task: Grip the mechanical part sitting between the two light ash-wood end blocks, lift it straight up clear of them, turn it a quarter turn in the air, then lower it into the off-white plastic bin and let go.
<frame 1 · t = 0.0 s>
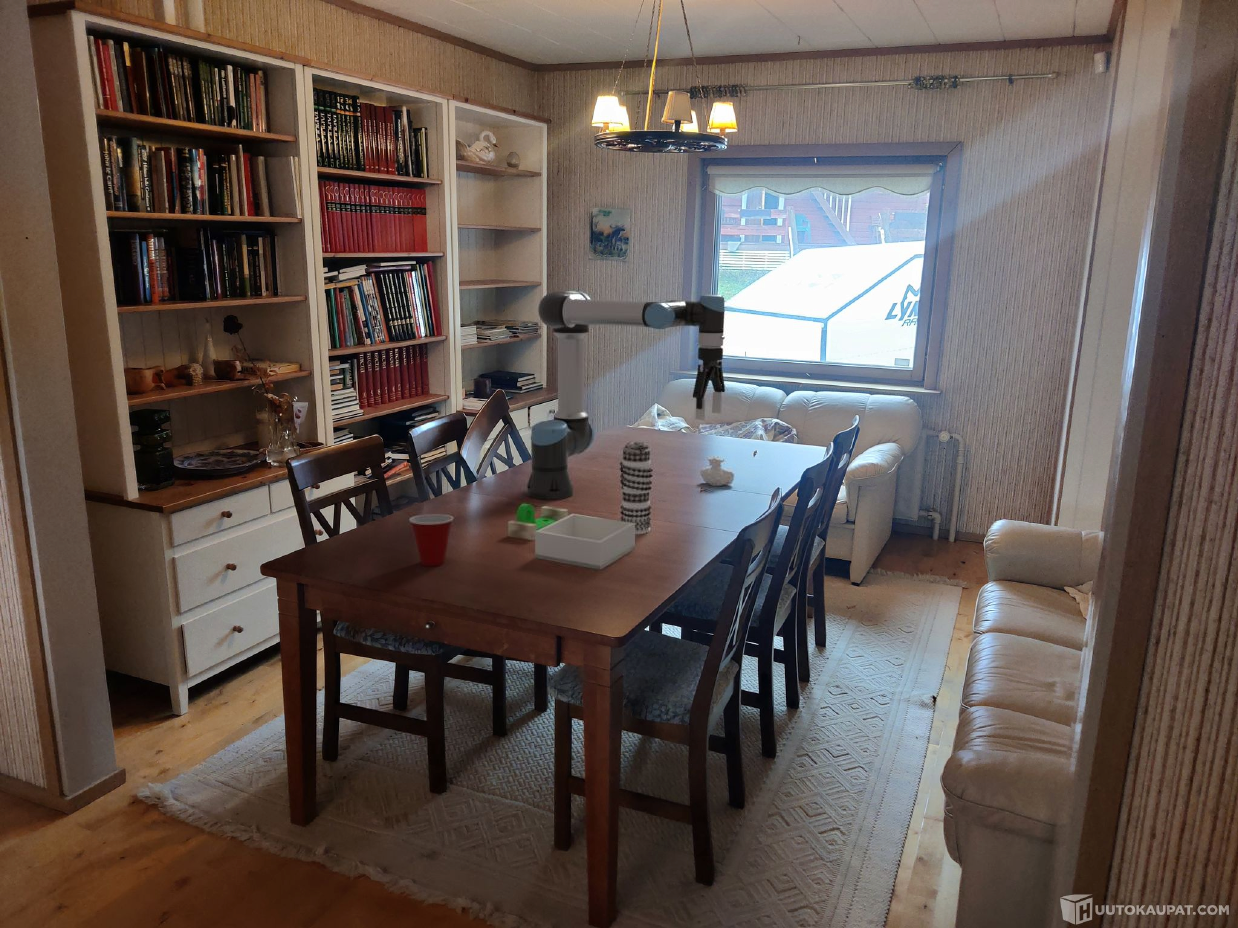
hand: (708, 416, 277), 28 cm above the table, tool pointing down, fingers open, 13 cm apart
cradle: (539, 529, 255), on the table
decorative candle: (635, 530, 256), on the table
mechanical part: (538, 530, 255), on the table
bin: (585, 553, 235), on the table
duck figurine: (716, 485, 307), on the table
plastic cup: (433, 563, 227), on the table
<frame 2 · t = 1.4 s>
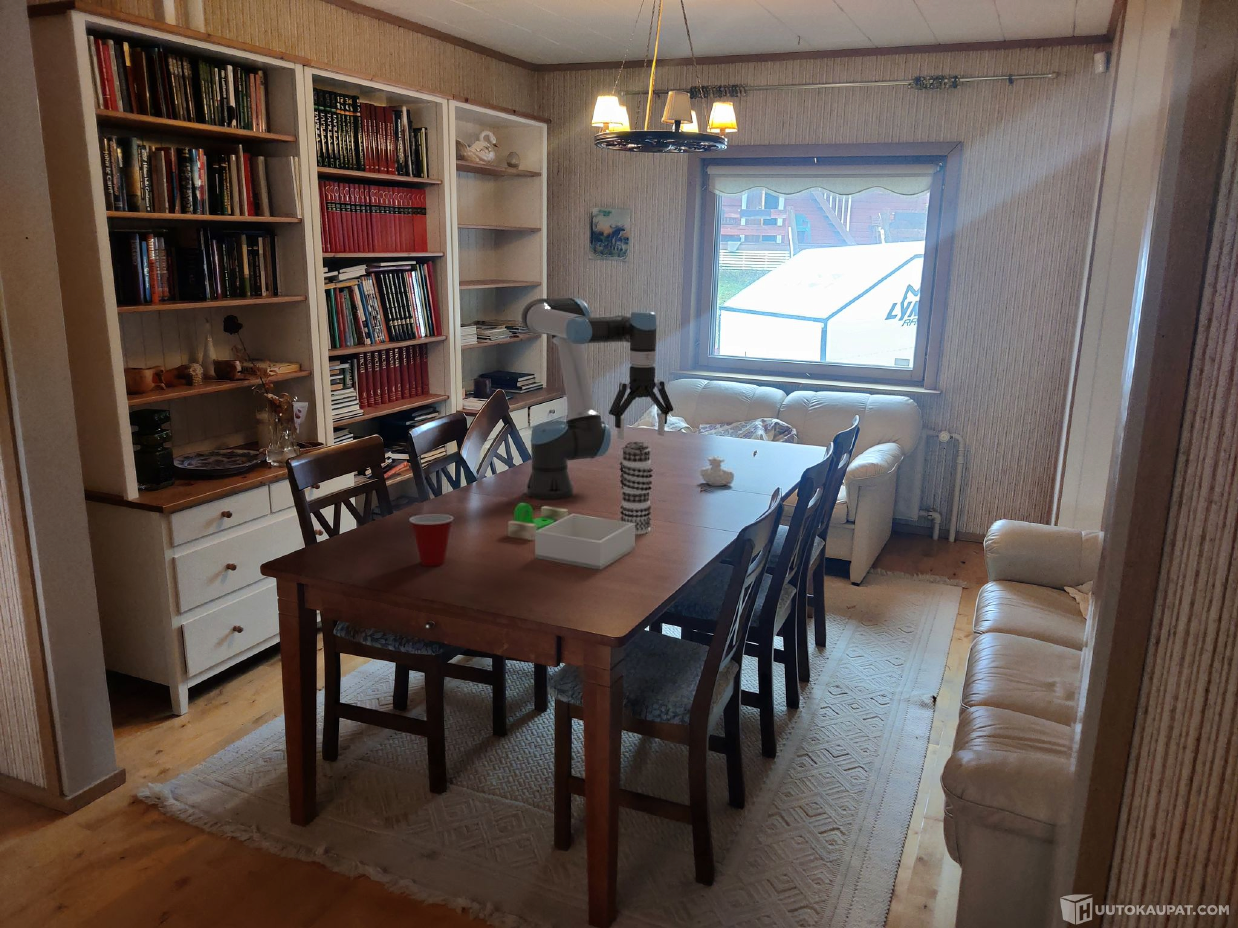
hand: (640, 437, 266), 24 cm above the table, tool pointing down, fingers open, 13 cm apart
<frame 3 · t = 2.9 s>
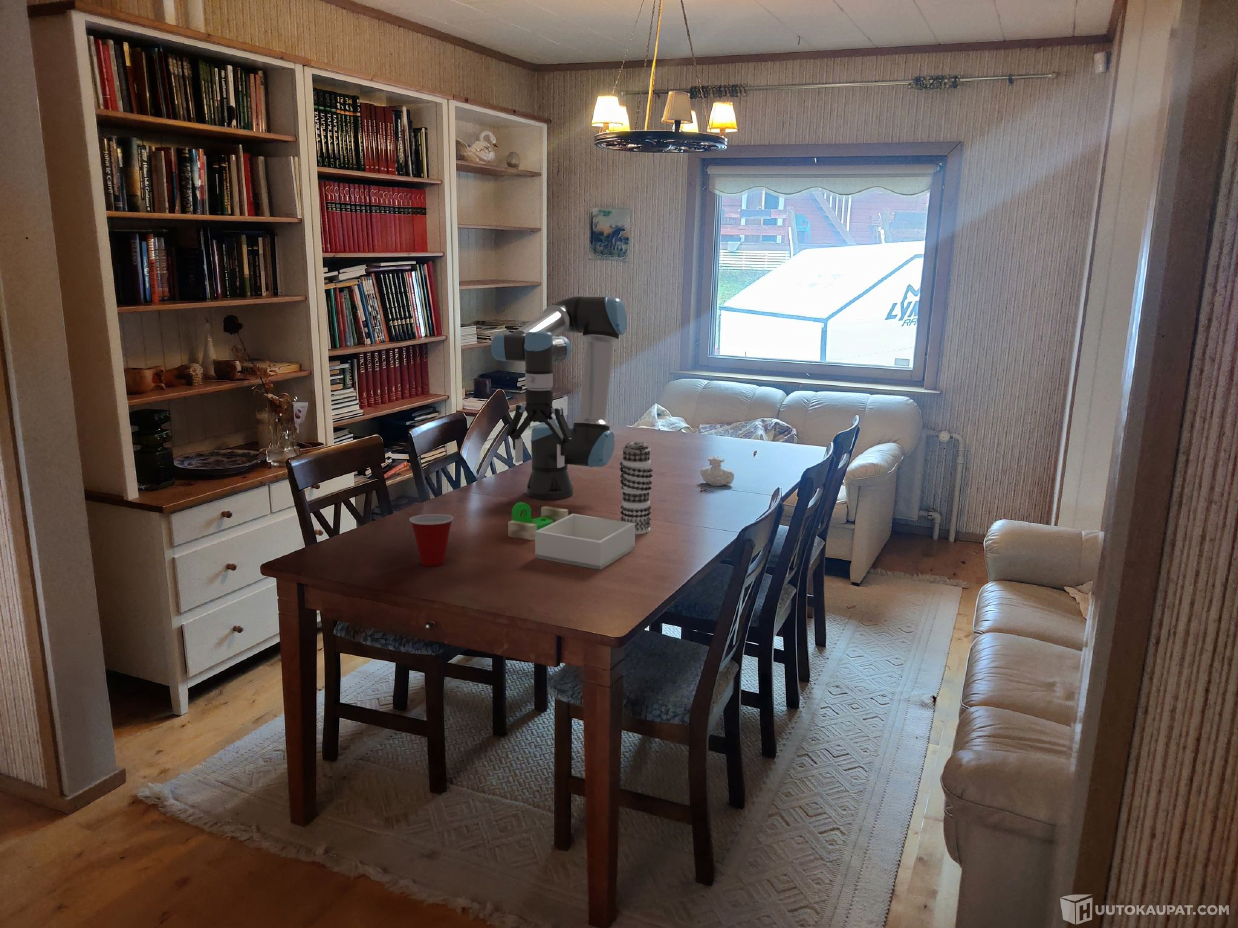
hand: (539, 464, 251), 19 cm above the table, tool pointing down, fingers open, 13 cm apart
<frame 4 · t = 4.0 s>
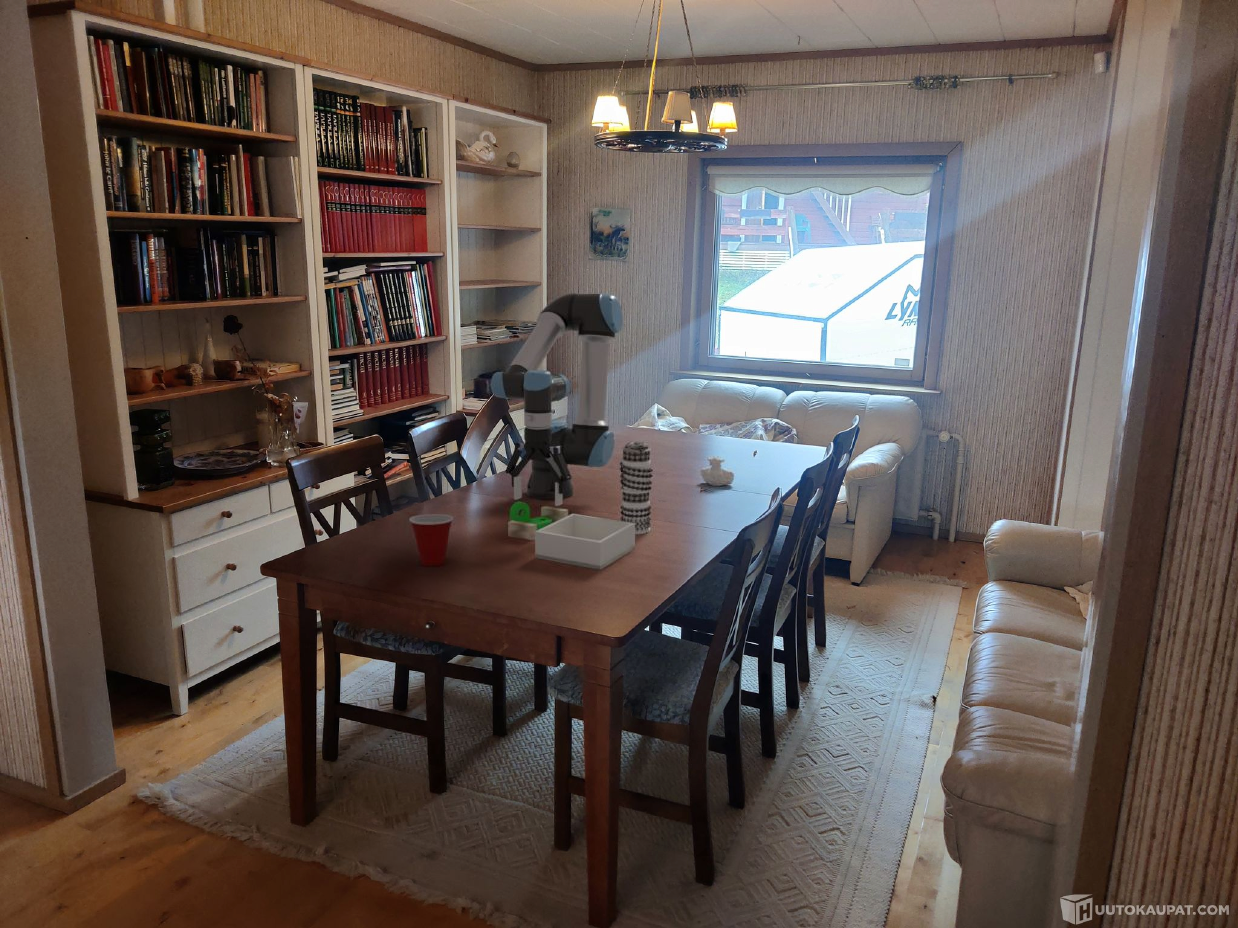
hand: (538, 501, 253), 8 cm above the table, tool pointing down, fingers open, 13 cm apart
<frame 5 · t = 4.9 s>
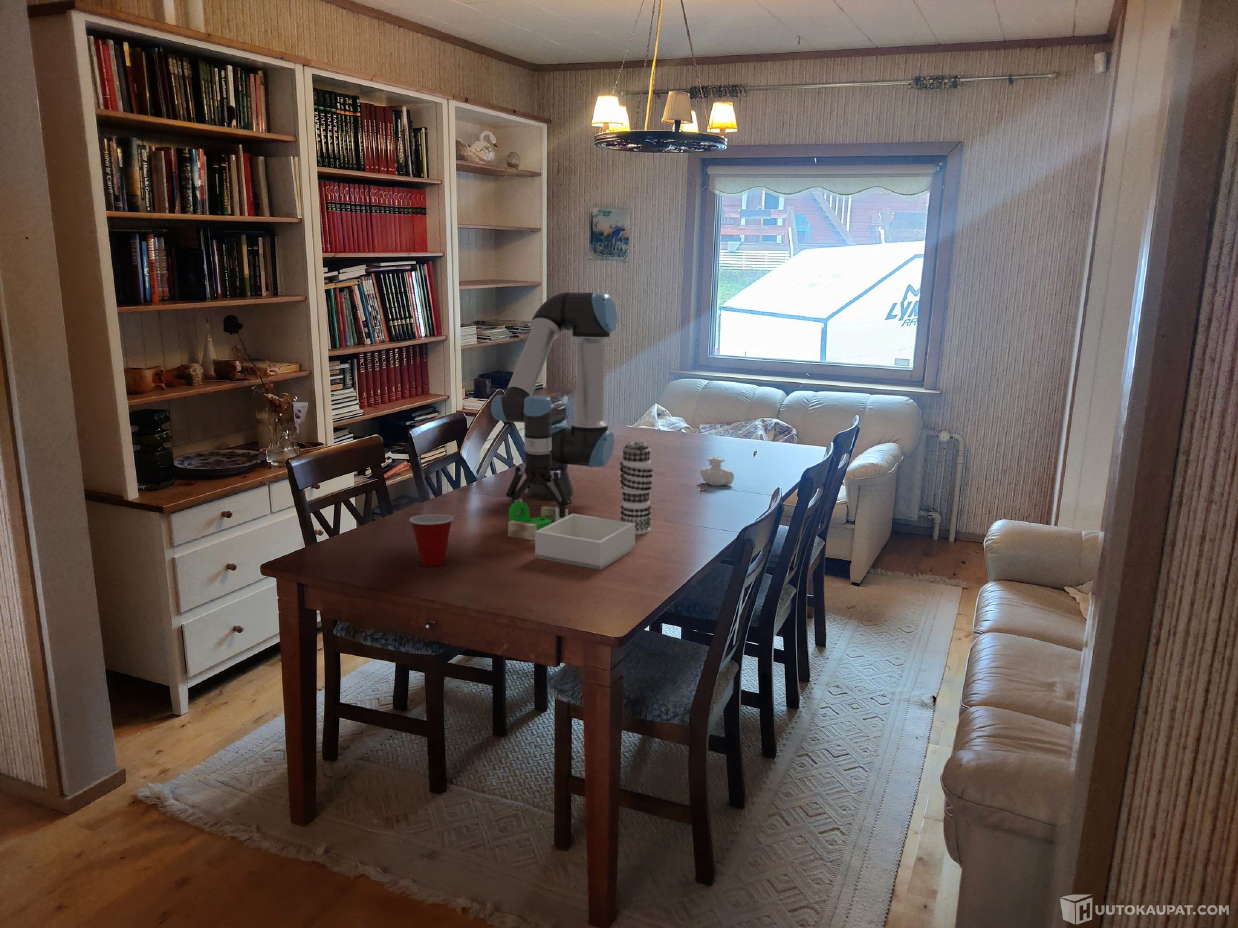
hand: (538, 525, 255), 1 cm above the table, tool pointing down, fingers open, 13 cm apart
mechanical part: (532, 529, 257), on the table, touching gripper
everything else where it was.
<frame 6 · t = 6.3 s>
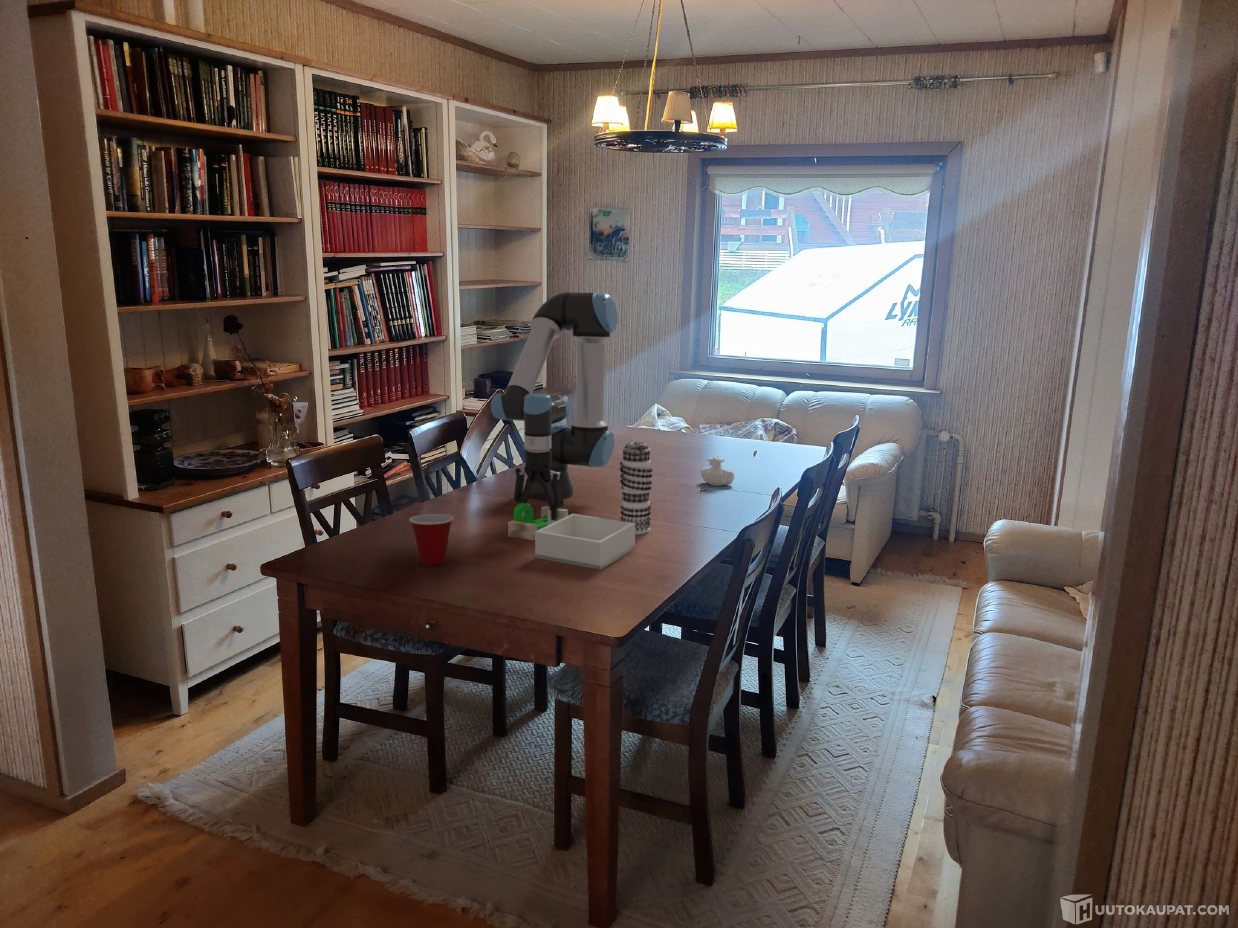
hand: (538, 528, 255), 0 cm above the table, tool pointing down, fingers open, 8 cm apart
mechanical part: (536, 530, 255), on the table, touching gripper
everything else where it was.
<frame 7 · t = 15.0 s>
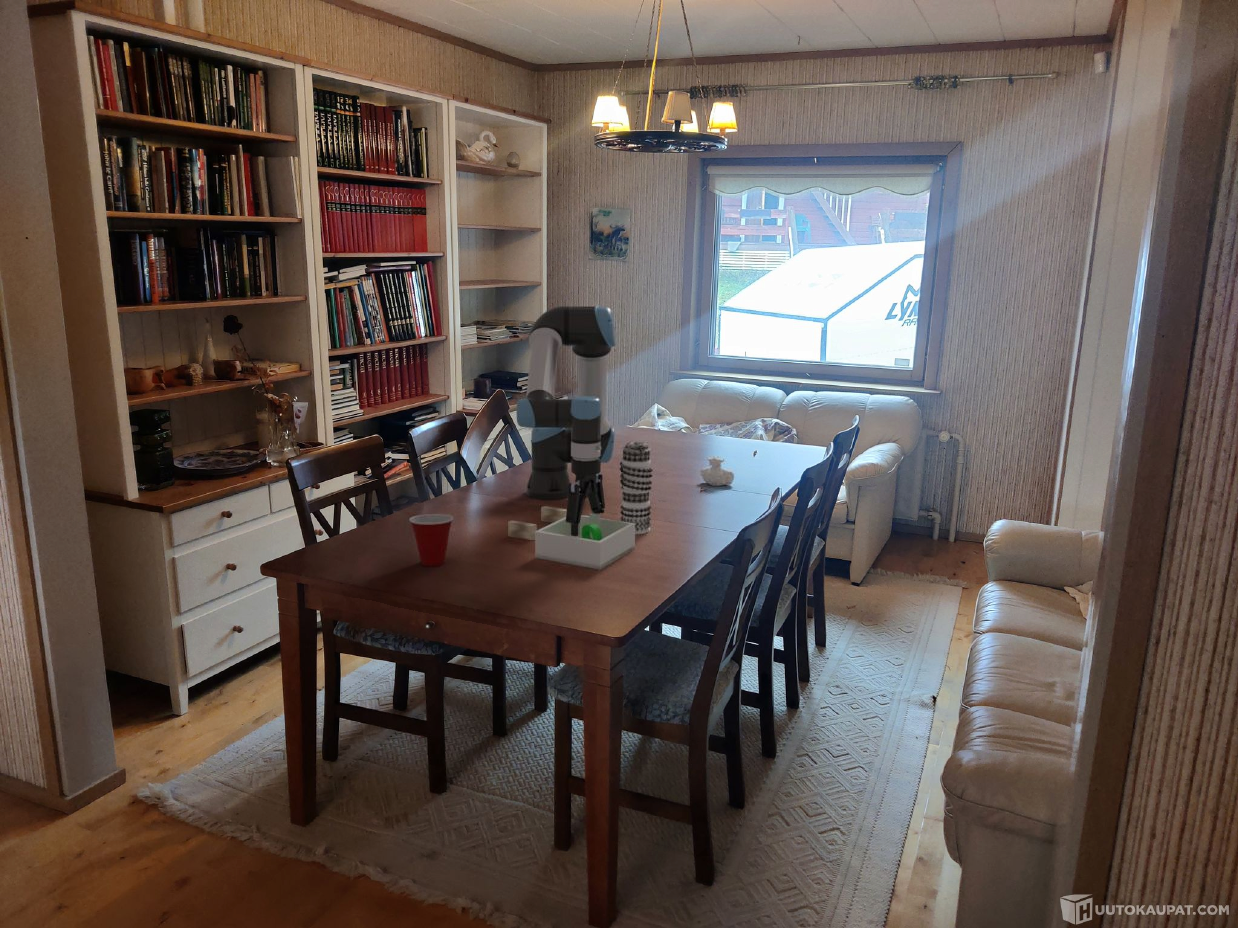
hand: (585, 542, 234), 3 cm above the table, tool pointing down, fingers open, 9 cm apart
mechanical part: (587, 550, 235), point 1 cm above the table, touching bin
everything else where it was.
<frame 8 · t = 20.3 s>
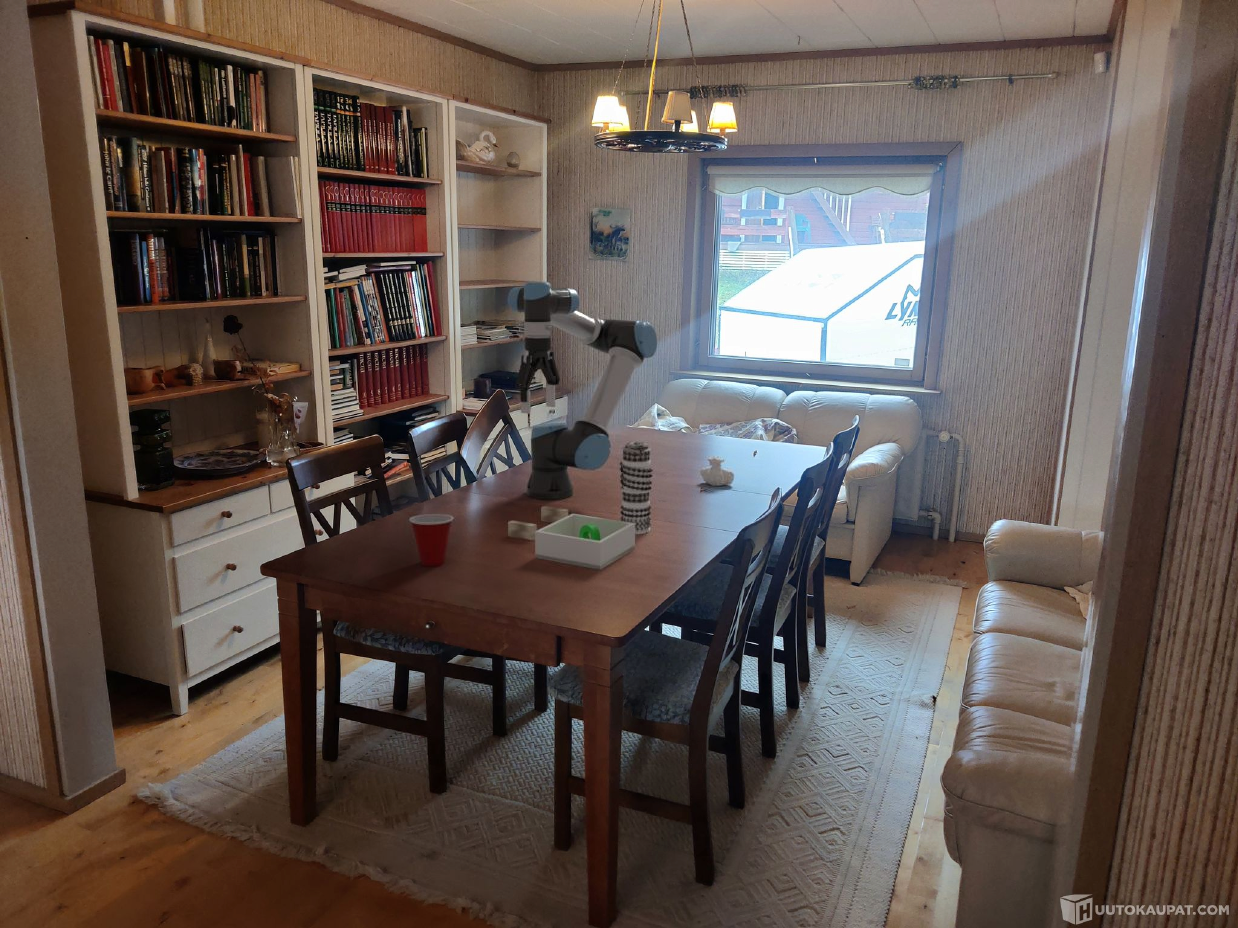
hand: (538, 410, 263), 32 cm above the table, tool pointing down, fingers open, 13 cm apart
nothing on the table moved.
at the end: mechanical part inside the target area on the bin (0.5 cm from its centre), point 0.8 cm above the bin's base; the gripper is holding nothing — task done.
